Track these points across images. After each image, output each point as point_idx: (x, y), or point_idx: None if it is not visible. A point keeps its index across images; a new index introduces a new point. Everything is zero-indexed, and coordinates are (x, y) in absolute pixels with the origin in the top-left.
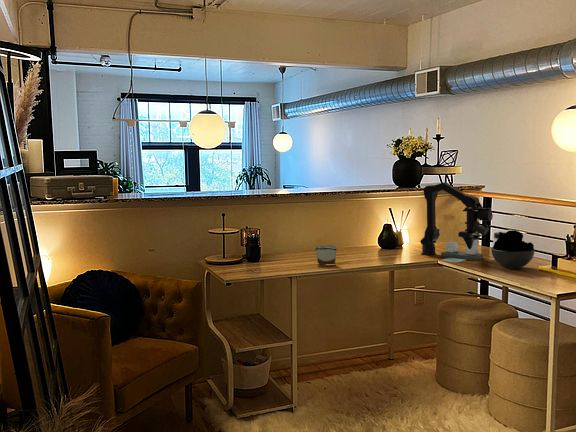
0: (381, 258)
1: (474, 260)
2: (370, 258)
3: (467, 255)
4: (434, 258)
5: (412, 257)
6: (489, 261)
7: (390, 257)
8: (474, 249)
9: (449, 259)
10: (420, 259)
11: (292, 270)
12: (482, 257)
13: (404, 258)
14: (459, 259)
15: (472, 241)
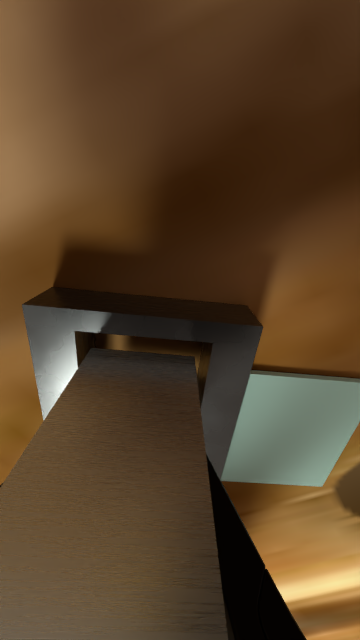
0: (343, 623)
1: (236, 306)
2: (354, 636)
3: (229, 399)
4: (257, 523)
5: (274, 580)
6: (183, 139)
7: (309, 616)
8: (173, 404)
9: (287, 461)
10: (316, 550)
11: None
12: (62, 292)
13: (313, 589)
14: (258, 415)
15: (220, 635)
